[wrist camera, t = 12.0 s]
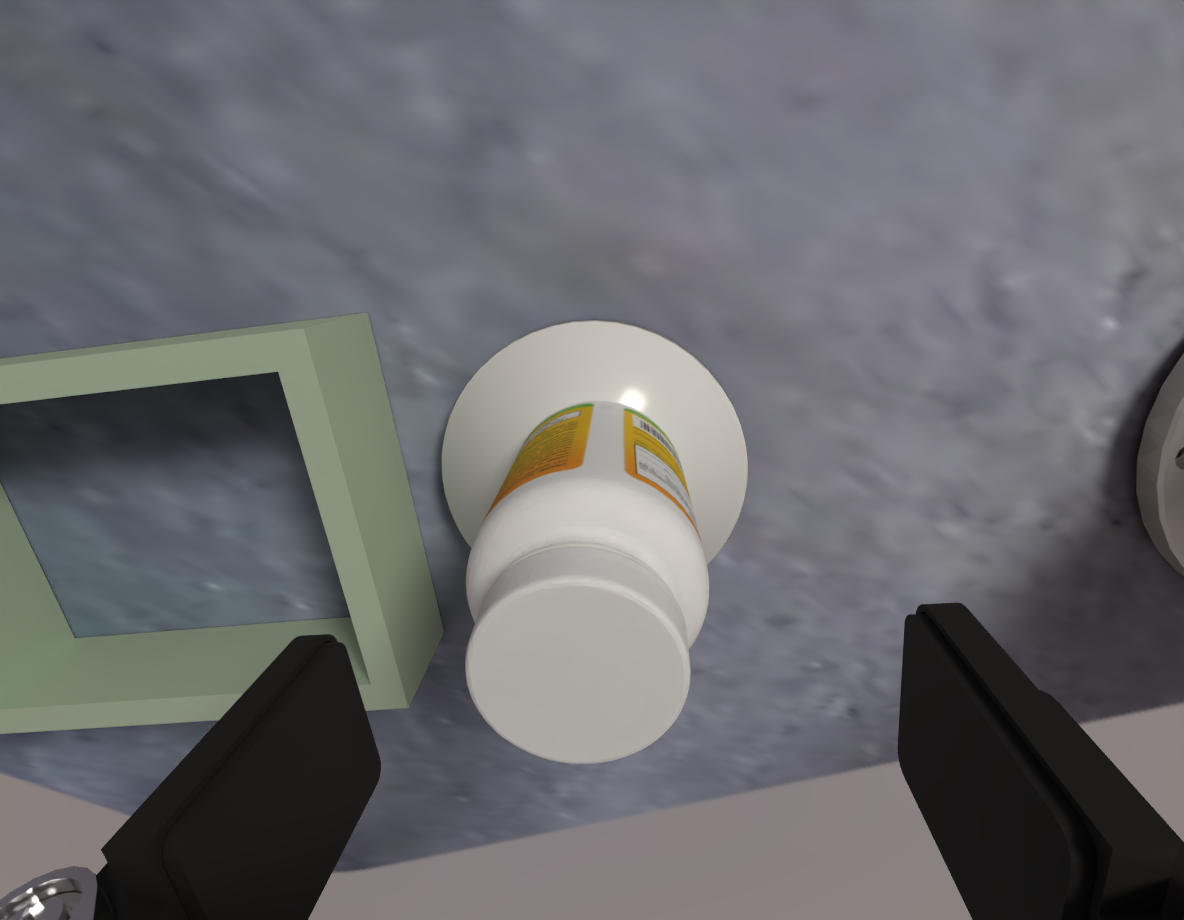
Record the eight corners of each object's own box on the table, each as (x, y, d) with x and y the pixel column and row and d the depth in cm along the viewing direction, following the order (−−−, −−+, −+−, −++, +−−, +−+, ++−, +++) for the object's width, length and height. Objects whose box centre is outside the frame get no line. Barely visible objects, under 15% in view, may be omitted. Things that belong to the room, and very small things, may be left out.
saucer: (736, 300, 18) (741, 303, 17) (748, 585, 21) (753, 597, 21) (420, 338, 19) (411, 342, 18) (477, 607, 22) (472, 619, 22)
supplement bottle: (509, 538, 20) (416, 773, 11) (525, 385, 19) (429, 517, 9) (665, 561, 20) (698, 817, 11) (696, 410, 19) (766, 568, 9)
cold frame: (367, 312, 19) (282, 333, 14) (444, 632, 23) (397, 732, 18) (-82, 369, 20) (-295, 405, 16) (62, 660, 24) (-74, 760, 19)
